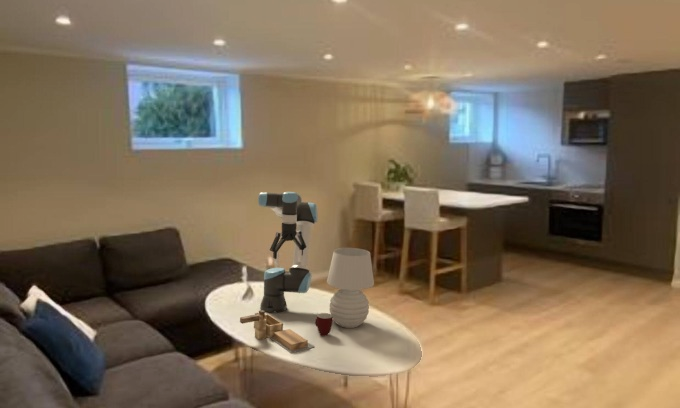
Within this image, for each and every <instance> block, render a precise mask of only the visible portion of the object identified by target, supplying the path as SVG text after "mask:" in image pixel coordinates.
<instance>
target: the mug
mask: <svg viewBox="0 0 680 408" xmlns="http://www.w3.org/2000/svg"><path fill="white" fill-rule="evenodd" d="M314 321H315V322H314V323H315V326H316V327H317V332H318V333H319V335H320V336H321V337H326V336H327V337H328V335H329V334H330V332H331V329H332V325H333V321H334V320H333V316H332V315H331V313H326V312H321V313H317V315H316V319H315V320H314Z"/></svg>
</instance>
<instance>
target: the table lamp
mask: <svg viewBox="0 0 680 408" xmlns="http://www.w3.org/2000/svg"><path fill="white" fill-rule="evenodd" d="M371 256H372V255H371V252H370V251H368V250H367V249H362V248H356V247H355V248H354V247H339V248H336V249H334V251H333V253H332V258H331V262H330V266H329V271H328V275H327V279H326V284H327V285H329V286H330V287H332V288H336V289H338V290H337V291H336V292H334V294H333V296H332V297H330V298H331V299H330V302H329V314H331V315H332V316H333V320H332V321H334V322H335V323H336V324H337V325H338V326H339V327H342V328H346V329H352V328H358V327H359V326H361V325H362V324H363V323H364V322H365V321H366V319H367V317H368V315H369V312H370V311H369V309H370V305H369V304H370V303H369V300H368V298H367V296H366V294H365V293H364V292H363V291H364V290H367V289H371V288H373V287H374V286H375V281H374V273H373V264H372V258H371ZM362 290H363V291H362Z"/></svg>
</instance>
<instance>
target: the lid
mask: <svg viewBox="0 0 680 408" xmlns="http://www.w3.org/2000/svg"><path fill="white" fill-rule="evenodd" d="M274 339H275V340H277V341H278V342H280V343H281V344H282V345H284V346H285V347H287V348H288V349H289V350H291V351H292V350H296V349H300V348H305V347H308V343H309V341H308V340H307V339H306V338H304V337H303V336H301V335H299V334H298V333H296V332H295V331H293V330H292V329H290V328H287V329H283V331H278V332H274Z"/></svg>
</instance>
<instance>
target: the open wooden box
mask: <svg viewBox="0 0 680 408" xmlns="http://www.w3.org/2000/svg"><path fill="white" fill-rule="evenodd" d="M255 314H259V312H254V315H255ZM253 328H254V338H256V339H257V340H262V339H266V338H268V339H269V338H271V337H274V332H278V331H283V330H284V329H283V328H284V323H283V322H281V321H280V320H278V319H276V318H275V317H273V316H272V315H271V314H269V313H265V319H264V320H263V316H259V320H258V321H253Z"/></svg>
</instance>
